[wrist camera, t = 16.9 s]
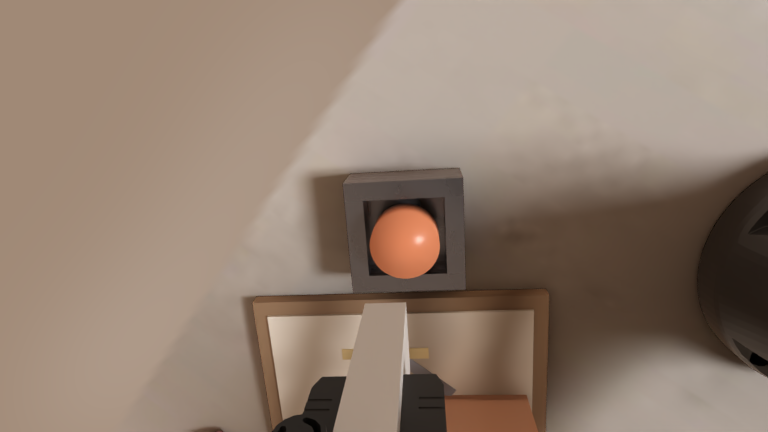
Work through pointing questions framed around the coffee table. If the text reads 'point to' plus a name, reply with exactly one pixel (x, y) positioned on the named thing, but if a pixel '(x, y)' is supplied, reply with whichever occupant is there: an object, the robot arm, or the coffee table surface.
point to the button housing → (416, 187)
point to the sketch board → (426, 342)
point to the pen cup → (489, 413)
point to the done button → (405, 241)
